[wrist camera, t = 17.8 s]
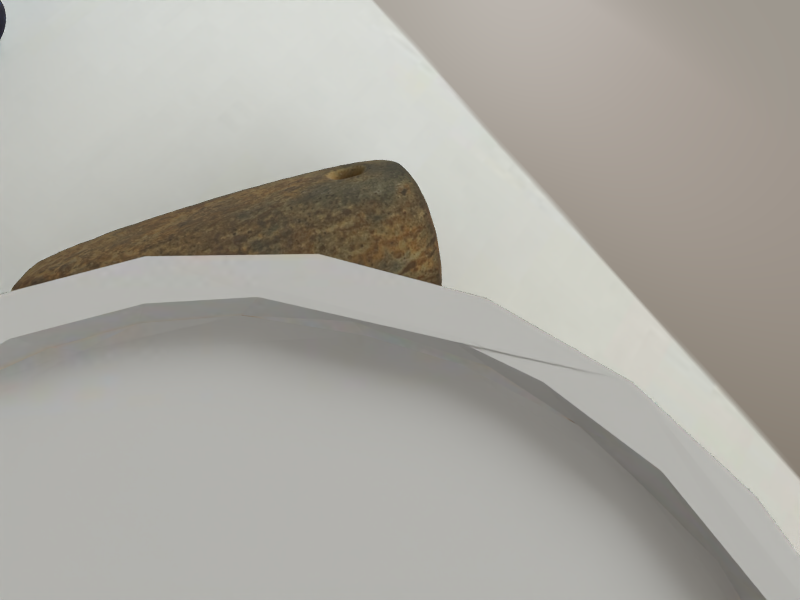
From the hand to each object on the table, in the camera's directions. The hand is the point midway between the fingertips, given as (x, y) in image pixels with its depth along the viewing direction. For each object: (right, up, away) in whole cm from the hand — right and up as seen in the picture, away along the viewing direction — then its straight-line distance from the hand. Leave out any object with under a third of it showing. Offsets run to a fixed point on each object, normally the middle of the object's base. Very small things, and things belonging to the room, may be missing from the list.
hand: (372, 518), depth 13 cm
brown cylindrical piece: (-6, +3, +18) cm, 19 cm away
